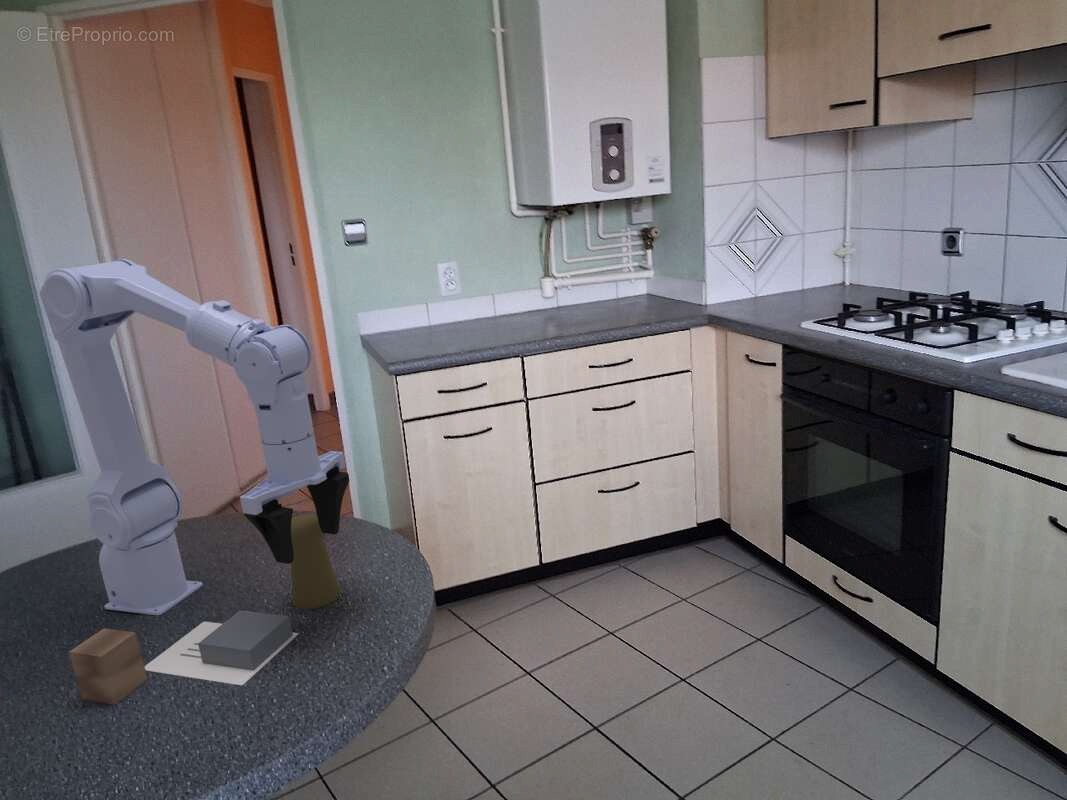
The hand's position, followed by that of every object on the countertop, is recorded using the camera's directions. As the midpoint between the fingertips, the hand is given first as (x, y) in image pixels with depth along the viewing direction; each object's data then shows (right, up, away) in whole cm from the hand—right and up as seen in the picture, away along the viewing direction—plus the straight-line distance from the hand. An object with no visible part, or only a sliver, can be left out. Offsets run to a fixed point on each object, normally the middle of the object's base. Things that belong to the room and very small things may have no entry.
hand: (308, 546), depth 93 cm
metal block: (-6, -11, -2) cm, 13 cm away
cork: (-1, -8, +9) cm, 12 cm away
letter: (-9, -12, -2) cm, 15 cm away
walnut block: (-19, -14, -7) cm, 25 cm away
